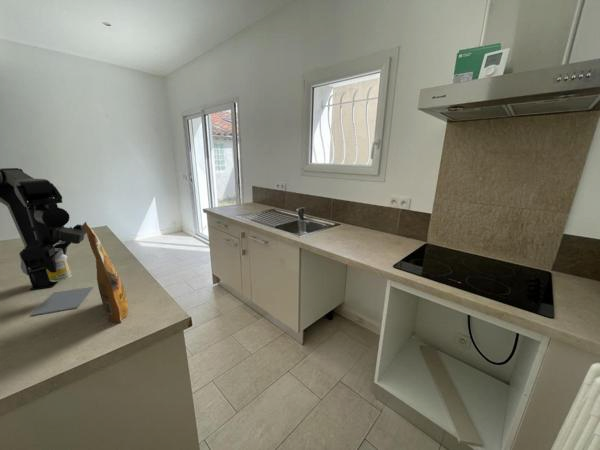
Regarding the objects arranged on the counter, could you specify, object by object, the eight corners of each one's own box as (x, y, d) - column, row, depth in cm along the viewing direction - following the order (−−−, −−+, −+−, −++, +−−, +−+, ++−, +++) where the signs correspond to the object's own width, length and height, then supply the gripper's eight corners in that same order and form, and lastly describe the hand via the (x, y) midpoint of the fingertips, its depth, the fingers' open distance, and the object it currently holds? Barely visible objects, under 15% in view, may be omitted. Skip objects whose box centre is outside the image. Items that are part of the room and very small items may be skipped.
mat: (30, 316, 72) (30, 315, 72) (53, 293, 84) (53, 292, 84) (77, 308, 76) (77, 307, 76) (93, 287, 88) (92, 286, 88)
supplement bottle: (59, 274, 82) (51, 247, 79) (76, 273, 82) (69, 247, 79) (44, 282, 76) (35, 254, 74) (63, 282, 77) (55, 253, 74)
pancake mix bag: (101, 332, 66) (76, 235, 59) (101, 299, 81) (82, 218, 73) (130, 322, 70) (111, 230, 62) (126, 293, 85) (110, 215, 77)
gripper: (64, 228, 68) (77, 277, 73) (89, 213, 85) (99, 254, 89) (10, 232, 64) (27, 284, 69) (48, 215, 81) (60, 258, 85)
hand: (58, 268), depth 78 cm, fingers closed on supplement bottle, 5 cm apart
